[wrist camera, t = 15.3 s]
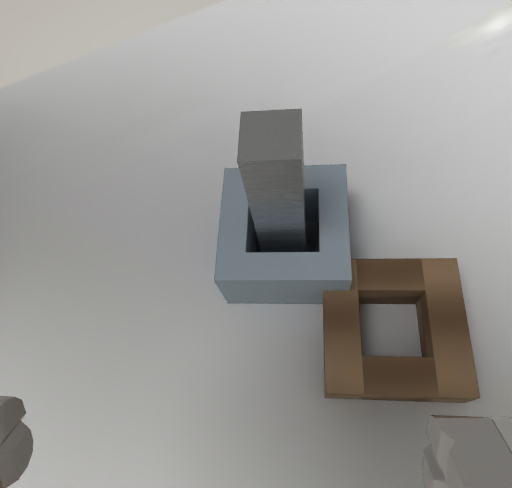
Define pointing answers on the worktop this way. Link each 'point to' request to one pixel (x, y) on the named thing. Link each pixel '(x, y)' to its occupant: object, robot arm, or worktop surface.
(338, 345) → the socket block
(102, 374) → the worktop surface
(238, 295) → the block
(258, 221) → the tall brushed metal pillar
